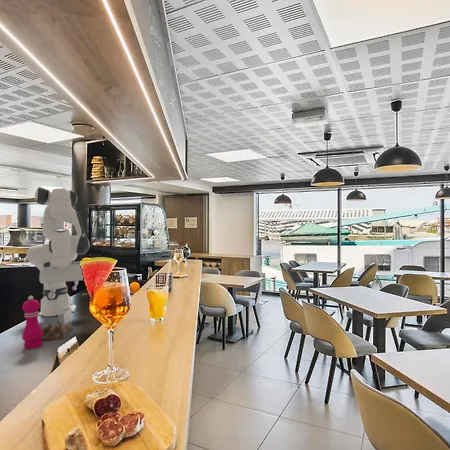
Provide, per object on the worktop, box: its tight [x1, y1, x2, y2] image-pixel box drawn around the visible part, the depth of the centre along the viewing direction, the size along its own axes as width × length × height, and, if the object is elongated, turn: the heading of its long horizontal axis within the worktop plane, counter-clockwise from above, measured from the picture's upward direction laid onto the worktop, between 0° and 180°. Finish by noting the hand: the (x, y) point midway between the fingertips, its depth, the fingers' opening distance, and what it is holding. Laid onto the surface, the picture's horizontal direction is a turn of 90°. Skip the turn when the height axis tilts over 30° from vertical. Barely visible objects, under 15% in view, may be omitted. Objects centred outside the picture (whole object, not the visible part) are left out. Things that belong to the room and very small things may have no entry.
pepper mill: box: [21, 295, 43, 350], centre depth 135 cm, size 7×7×20 cm
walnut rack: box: [40, 322, 74, 342], centre depth 148 cm, size 14×15×4 cm
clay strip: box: [57, 308, 73, 328], centre depth 164 cm, size 12×2×7 cm, turn 9°
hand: (63, 291), depth 164 cm, fingers open, 8 cm apart
